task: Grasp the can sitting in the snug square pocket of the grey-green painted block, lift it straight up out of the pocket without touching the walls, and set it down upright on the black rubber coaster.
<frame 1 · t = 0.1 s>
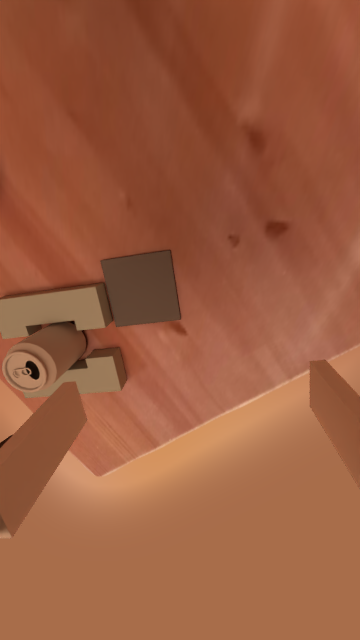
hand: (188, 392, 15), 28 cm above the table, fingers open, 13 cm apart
pocket block: (67, 339, 46), on the table
coaster: (142, 290, 42), on the table
can: (68, 338, 46), on the table
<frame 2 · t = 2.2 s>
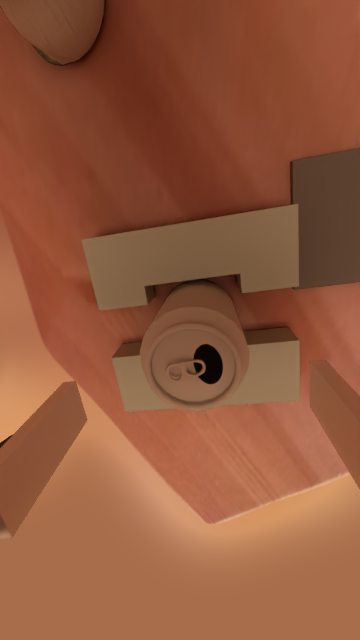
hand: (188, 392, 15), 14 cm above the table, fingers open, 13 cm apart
pocket block: (198, 313, 27), on the table
coaster: (356, 220, 23), on the table
can: (198, 313, 28), on the table
decorative ornament: (68, 11, 21), on the table
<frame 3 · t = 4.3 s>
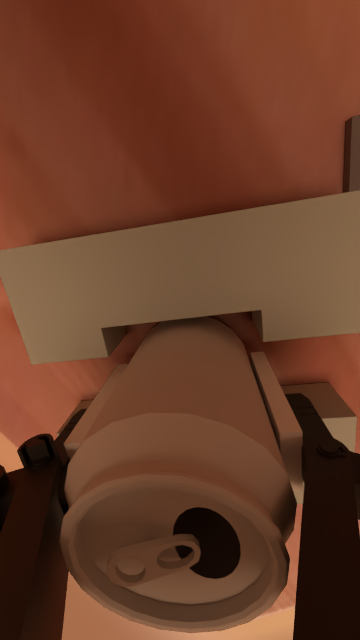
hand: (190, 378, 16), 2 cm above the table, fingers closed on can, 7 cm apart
pocket block: (192, 361, 18), on the table
can: (192, 360, 18), on the table, touching gripper
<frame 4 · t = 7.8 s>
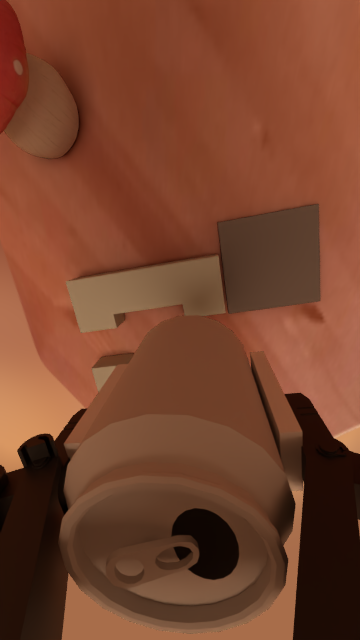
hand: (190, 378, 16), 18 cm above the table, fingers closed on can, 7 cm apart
pocket block: (159, 332, 35), on the table
coaster: (269, 262, 31), on the table
can: (191, 361, 18), point 16 cm above the table, touching gripper
decorative ornament: (54, 124, 29), on the table
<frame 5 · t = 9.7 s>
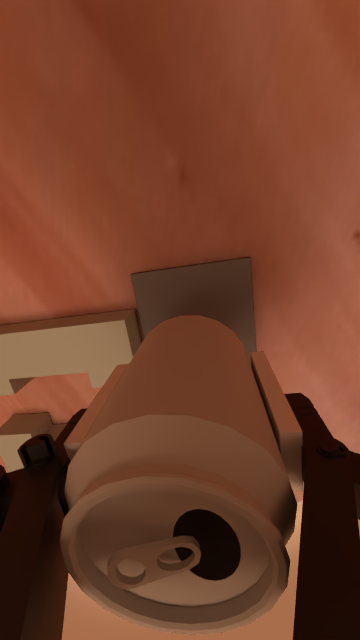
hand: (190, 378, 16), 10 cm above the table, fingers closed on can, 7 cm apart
pocket block: (75, 392, 30), on the table
coaster: (196, 321, 26), on the table
can: (192, 361, 18), point 8 cm above the table, touching gripper
when the fingers open (4 cm above the table, at t = 11.5 s): can drops 1 cm, resting on coaster.
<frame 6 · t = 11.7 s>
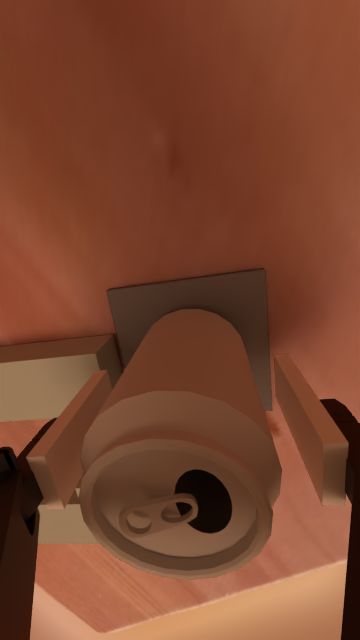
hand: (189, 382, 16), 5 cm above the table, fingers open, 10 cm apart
pocket block: (43, 434, 24), on the table
coaster: (193, 350, 20), on the table
can: (193, 352, 20), resting on coaster
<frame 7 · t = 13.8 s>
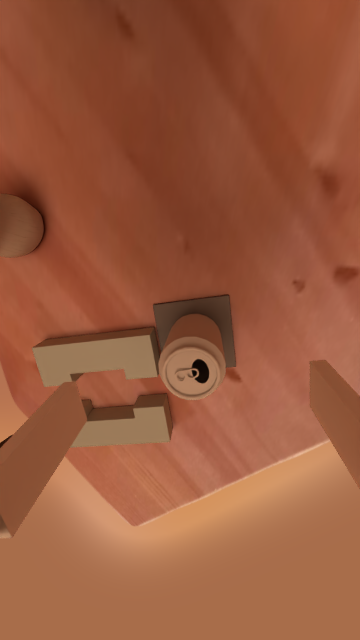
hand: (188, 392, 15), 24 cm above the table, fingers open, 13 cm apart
pocket block: (111, 384, 43), on the table
coaster: (195, 335, 39), on the table
can: (195, 335, 39), resting on coaster
decorative ornament: (25, 226, 37), on the table
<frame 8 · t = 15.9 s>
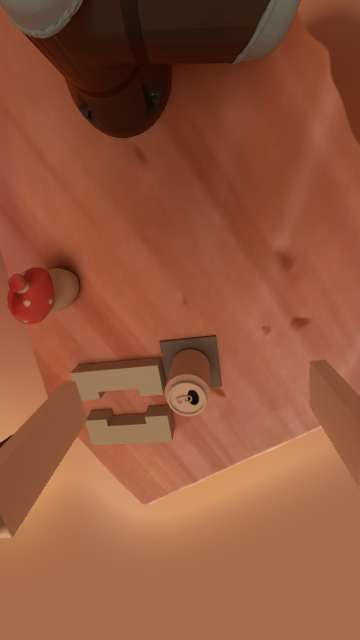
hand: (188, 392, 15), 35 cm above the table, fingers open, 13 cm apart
pocket block: (127, 398, 57), on the table
coaster: (191, 363, 53), on the table
can: (191, 364, 52), resting on coaster
decorative ornament: (65, 285, 50), on the table
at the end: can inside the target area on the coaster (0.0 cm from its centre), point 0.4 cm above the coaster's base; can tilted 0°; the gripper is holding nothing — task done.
